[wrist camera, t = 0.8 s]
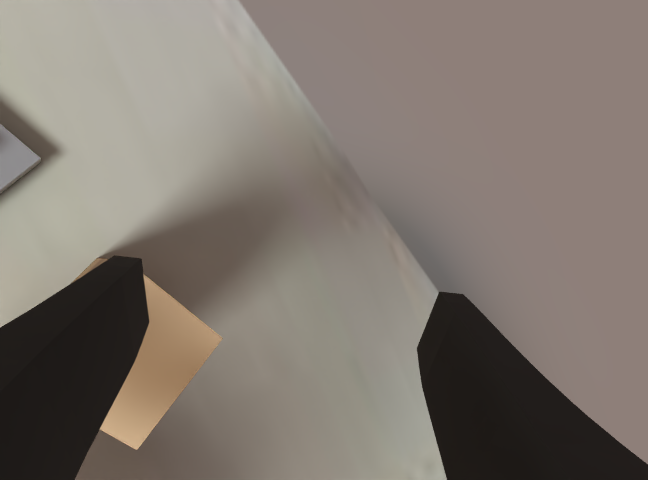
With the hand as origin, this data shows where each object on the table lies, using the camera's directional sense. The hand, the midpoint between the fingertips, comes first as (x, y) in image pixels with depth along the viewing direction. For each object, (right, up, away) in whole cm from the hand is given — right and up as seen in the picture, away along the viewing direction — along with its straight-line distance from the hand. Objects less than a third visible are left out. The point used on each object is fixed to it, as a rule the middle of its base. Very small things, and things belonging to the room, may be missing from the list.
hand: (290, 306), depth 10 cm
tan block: (-10, -2, +10) cm, 15 cm away
